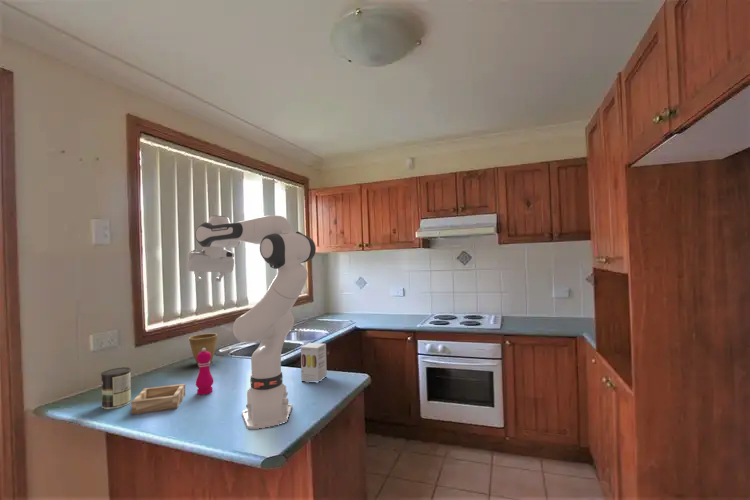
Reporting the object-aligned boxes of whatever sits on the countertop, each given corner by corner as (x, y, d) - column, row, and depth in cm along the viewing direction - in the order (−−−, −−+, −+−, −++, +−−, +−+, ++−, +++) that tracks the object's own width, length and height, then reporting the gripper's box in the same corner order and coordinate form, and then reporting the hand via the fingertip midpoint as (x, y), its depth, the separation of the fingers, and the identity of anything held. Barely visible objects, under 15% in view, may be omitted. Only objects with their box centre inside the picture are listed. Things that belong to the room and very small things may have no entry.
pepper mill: (206, 395, 161) (205, 350, 162) (192, 395, 163) (191, 349, 163) (217, 389, 168) (215, 346, 169) (203, 389, 170) (202, 345, 170)
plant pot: (221, 359, 221) (220, 332, 221) (212, 366, 206) (211, 338, 207) (196, 360, 220) (195, 333, 220) (185, 368, 205) (184, 339, 206)
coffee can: (97, 411, 148) (97, 376, 149) (106, 402, 158) (105, 369, 158) (127, 406, 152) (127, 372, 152) (134, 398, 162) (133, 365, 162)
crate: (177, 408, 148) (176, 396, 148) (131, 414, 143) (131, 402, 144) (185, 394, 163) (185, 383, 163) (144, 400, 159) (144, 388, 159)
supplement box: (300, 382, 175) (299, 346, 175) (310, 376, 184) (309, 342, 184) (318, 383, 172) (317, 347, 172) (327, 377, 181) (326, 343, 181)
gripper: (193, 250, 154) (188, 283, 154) (237, 254, 170) (232, 283, 171) (186, 248, 158) (181, 279, 158) (230, 251, 174) (225, 279, 174)
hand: (208, 281), depth 165 cm, fingers open, 8 cm apart
